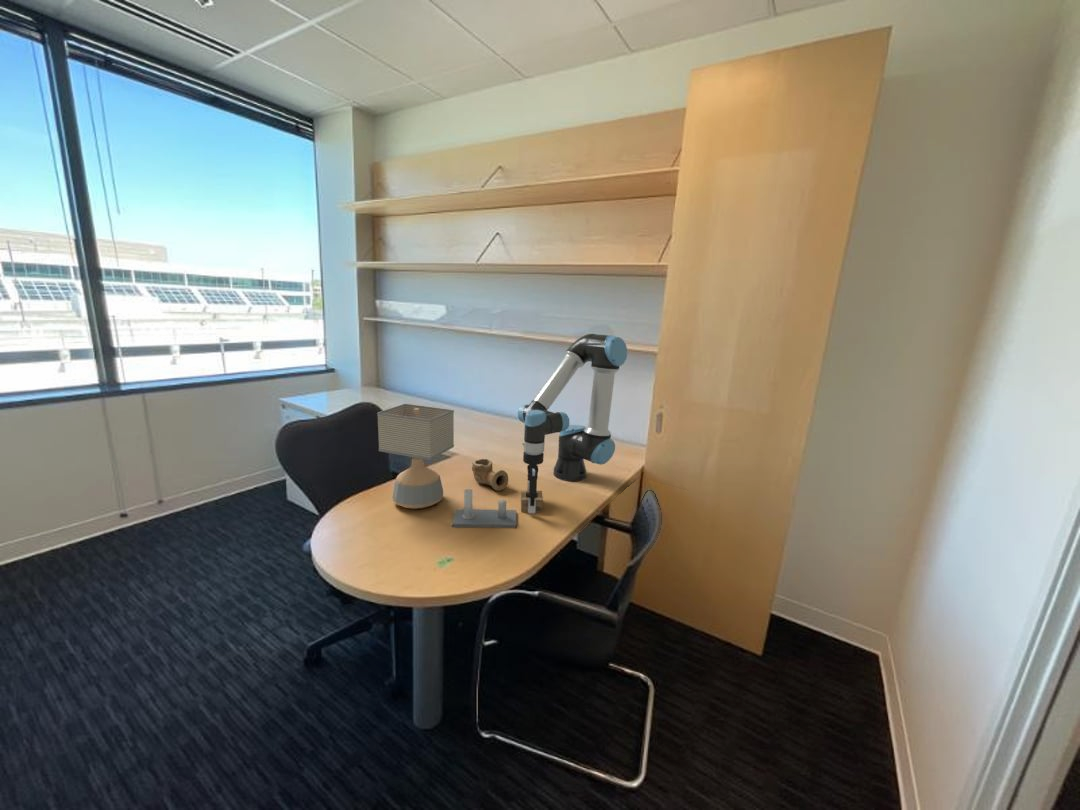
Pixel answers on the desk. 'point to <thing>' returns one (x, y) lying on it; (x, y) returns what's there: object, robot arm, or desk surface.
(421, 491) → the desk lamp
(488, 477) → the pipe
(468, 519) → the post board
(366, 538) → the desk surface
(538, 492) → the collar
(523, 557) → the desk surface
